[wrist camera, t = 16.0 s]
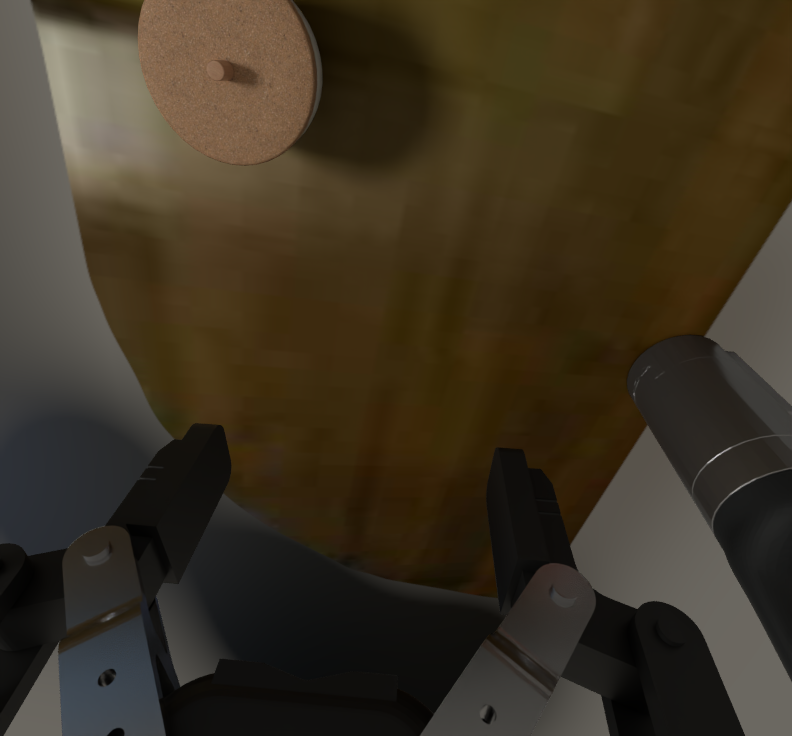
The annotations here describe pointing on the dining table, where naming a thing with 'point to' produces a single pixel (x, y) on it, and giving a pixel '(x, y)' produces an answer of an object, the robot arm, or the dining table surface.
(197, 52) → the lidded jar
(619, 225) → the dining table surface
